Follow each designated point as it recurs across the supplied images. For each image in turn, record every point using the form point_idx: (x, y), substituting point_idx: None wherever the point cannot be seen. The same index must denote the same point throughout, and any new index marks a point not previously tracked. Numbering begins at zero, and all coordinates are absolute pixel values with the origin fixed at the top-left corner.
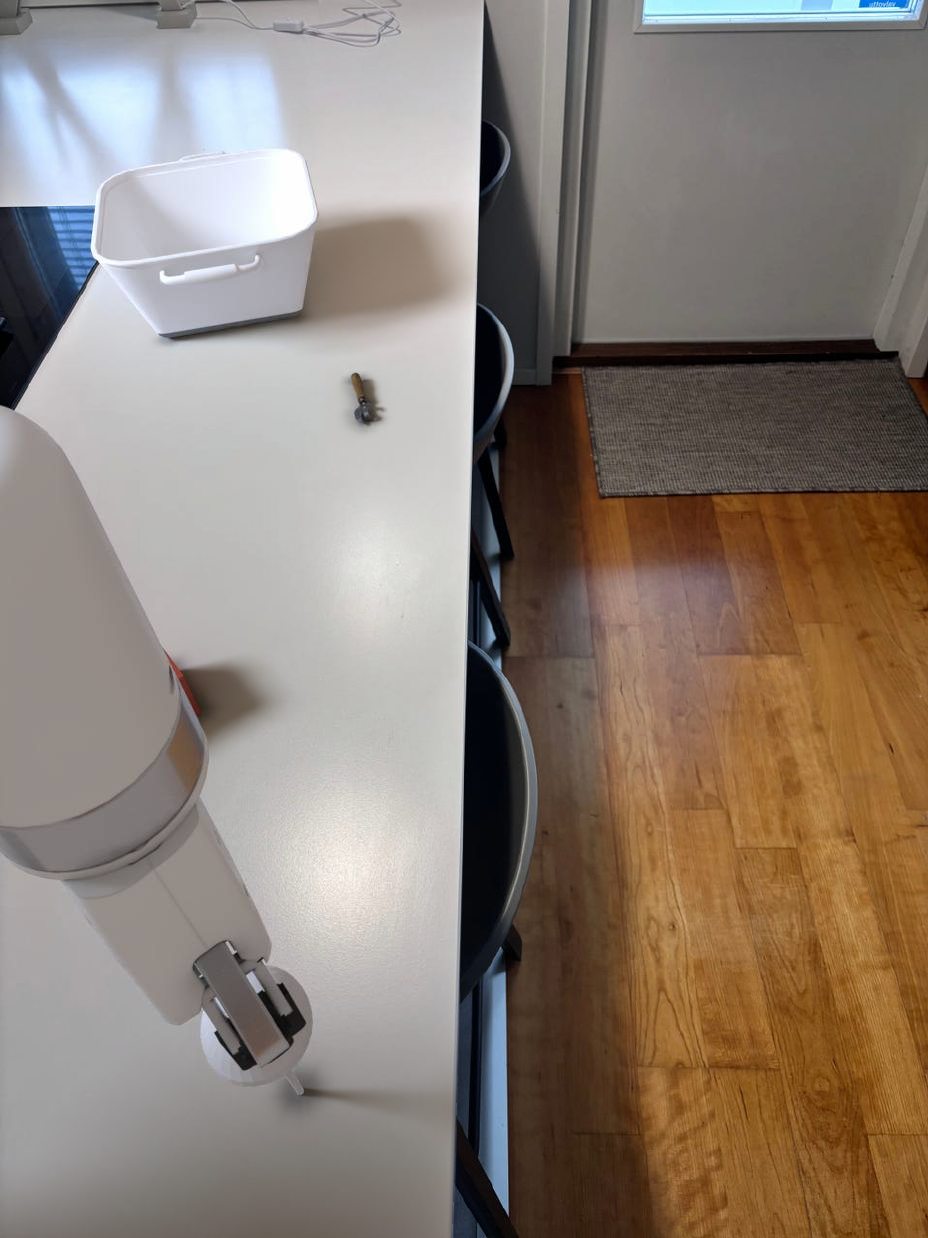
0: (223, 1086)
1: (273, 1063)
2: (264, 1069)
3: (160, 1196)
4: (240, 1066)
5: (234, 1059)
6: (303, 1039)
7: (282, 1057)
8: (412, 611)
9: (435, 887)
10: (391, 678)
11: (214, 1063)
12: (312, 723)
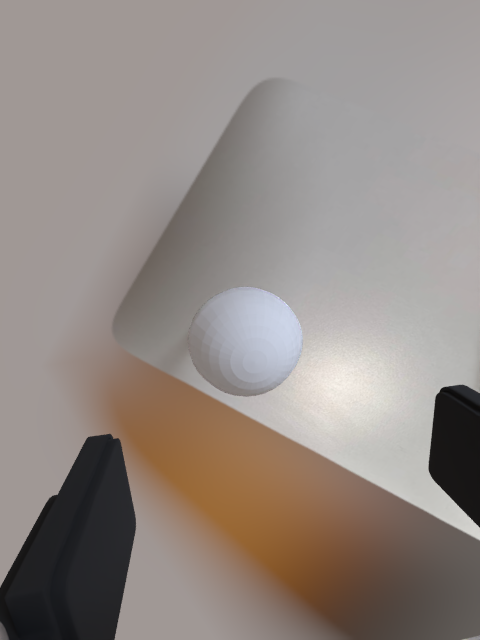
0: (259, 250)
1: (195, 349)
2: (195, 339)
3: (218, 181)
4: (80, 453)
5: (65, 482)
6: (203, 377)
7: (195, 359)
8: None
9: (291, 428)
10: None
11: (230, 298)
12: None
